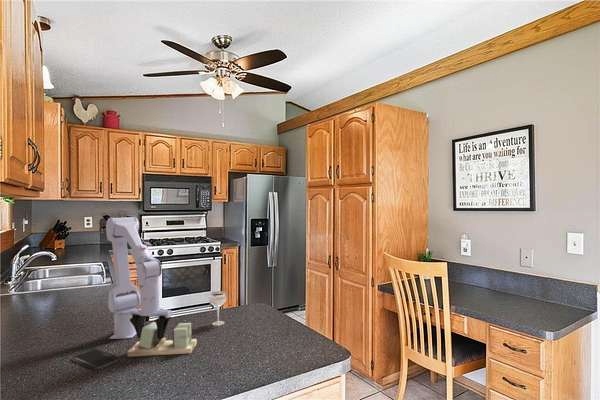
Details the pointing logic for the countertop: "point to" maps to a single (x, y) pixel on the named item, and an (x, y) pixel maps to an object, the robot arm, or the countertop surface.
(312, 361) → the countertop surface
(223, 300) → the wineglass
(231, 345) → the countertop surface
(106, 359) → the phone
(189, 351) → the block holder
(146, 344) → the block
